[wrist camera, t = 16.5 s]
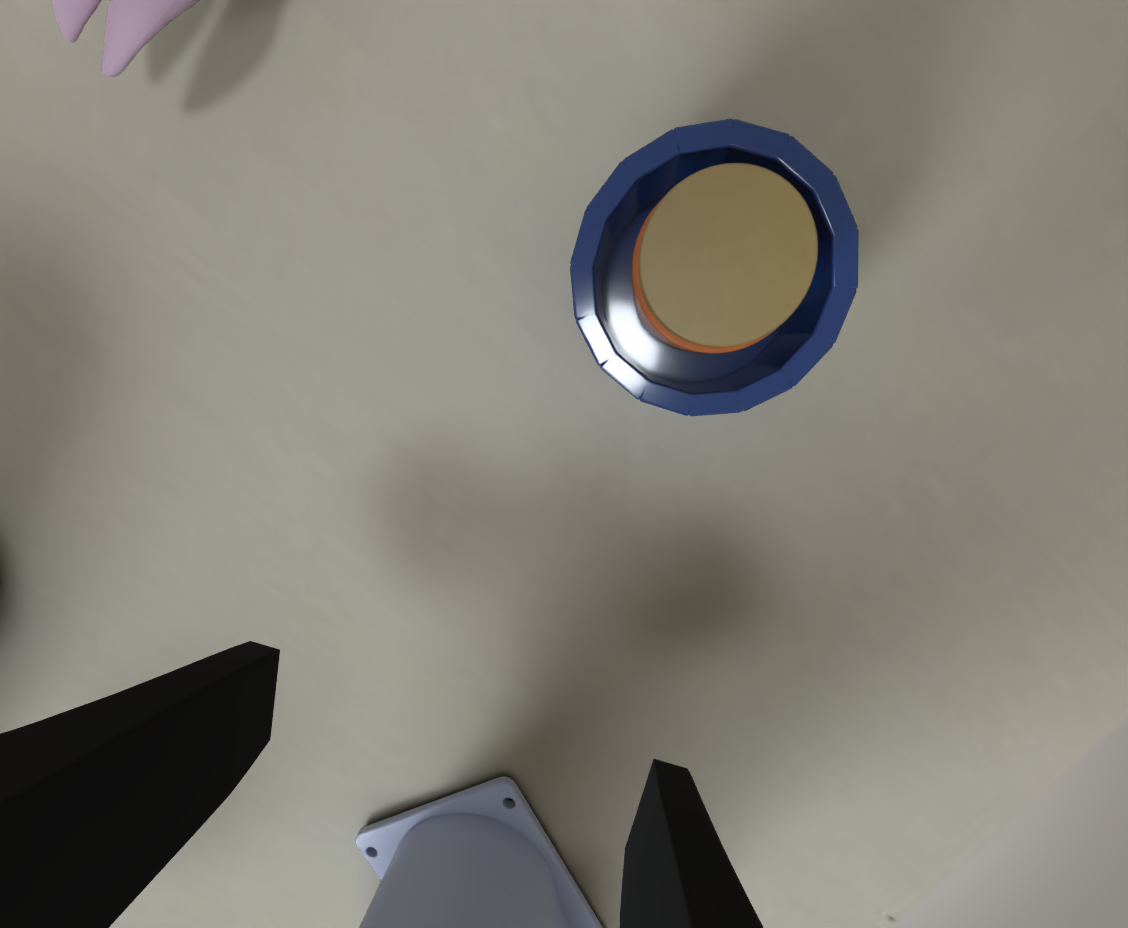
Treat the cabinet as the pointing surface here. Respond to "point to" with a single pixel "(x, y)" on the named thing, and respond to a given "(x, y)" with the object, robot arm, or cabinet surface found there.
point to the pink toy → (119, 25)
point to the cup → (608, 283)
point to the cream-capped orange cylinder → (723, 259)
